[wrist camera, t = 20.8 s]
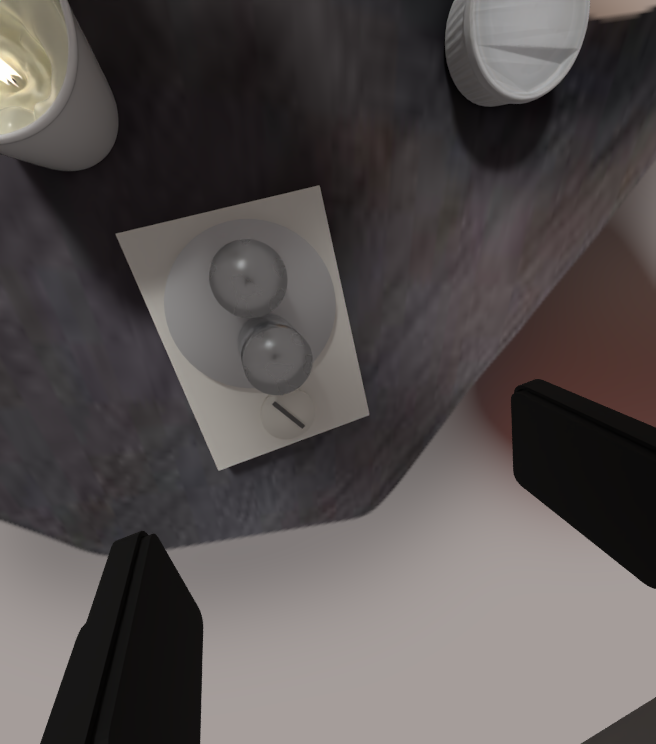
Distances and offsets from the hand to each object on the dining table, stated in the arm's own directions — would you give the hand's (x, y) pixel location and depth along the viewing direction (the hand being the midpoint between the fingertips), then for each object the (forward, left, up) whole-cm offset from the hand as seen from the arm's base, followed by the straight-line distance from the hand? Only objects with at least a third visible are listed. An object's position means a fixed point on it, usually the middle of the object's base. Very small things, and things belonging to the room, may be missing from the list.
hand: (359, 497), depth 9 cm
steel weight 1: (-4, 0, -24) cm, 24 cm away
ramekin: (-17, +27, -28) cm, 42 cm away
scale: (+2, 0, -28) cm, 28 cm away
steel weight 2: (+2, 0, -24) cm, 24 cm away
